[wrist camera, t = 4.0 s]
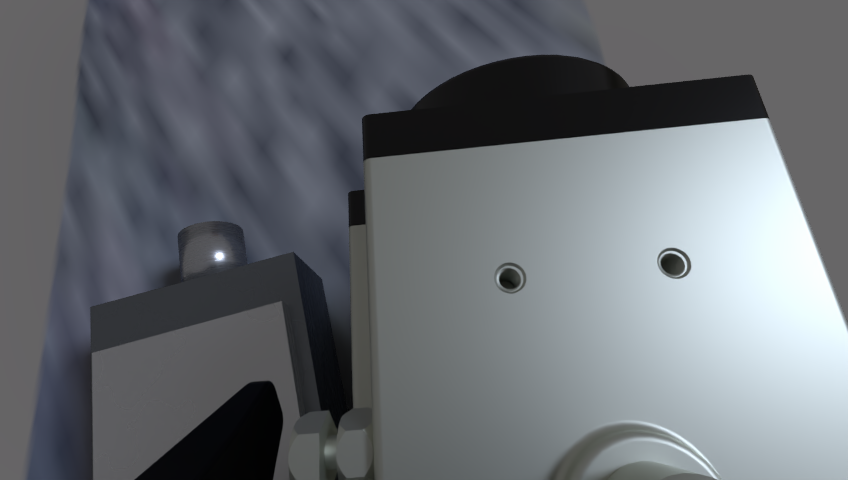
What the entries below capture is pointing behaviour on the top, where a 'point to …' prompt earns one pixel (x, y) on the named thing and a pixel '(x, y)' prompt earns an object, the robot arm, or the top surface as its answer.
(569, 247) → the pneumatic valve
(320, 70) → the top surface
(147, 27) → the top surface
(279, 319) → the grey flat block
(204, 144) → the top surface
